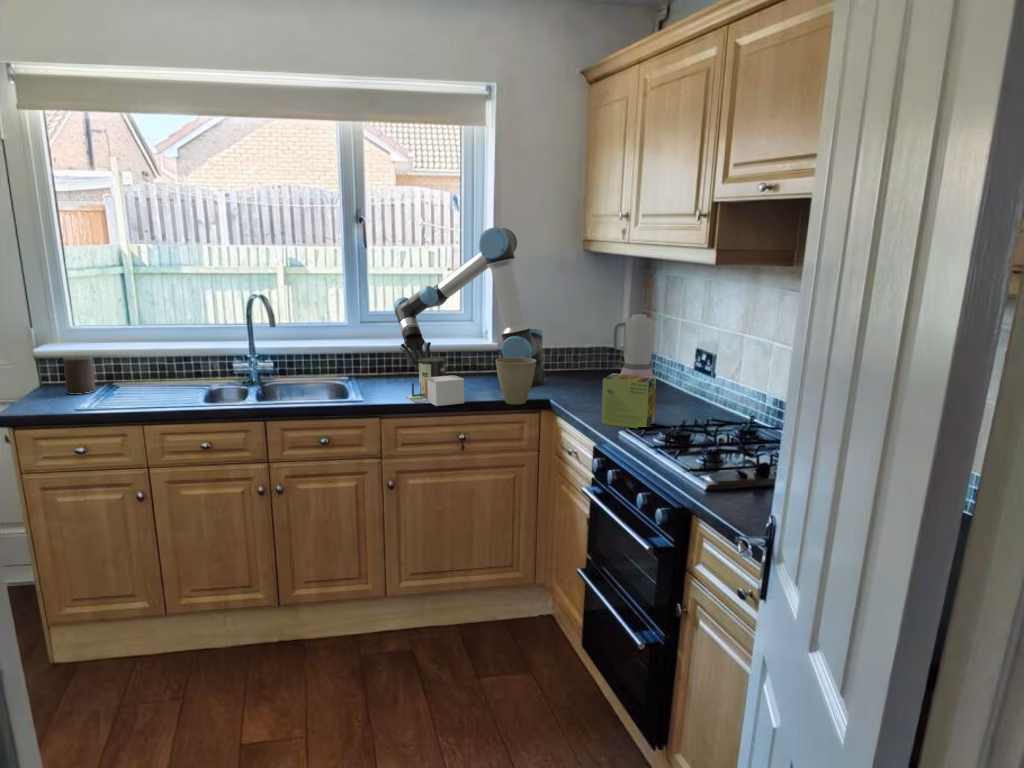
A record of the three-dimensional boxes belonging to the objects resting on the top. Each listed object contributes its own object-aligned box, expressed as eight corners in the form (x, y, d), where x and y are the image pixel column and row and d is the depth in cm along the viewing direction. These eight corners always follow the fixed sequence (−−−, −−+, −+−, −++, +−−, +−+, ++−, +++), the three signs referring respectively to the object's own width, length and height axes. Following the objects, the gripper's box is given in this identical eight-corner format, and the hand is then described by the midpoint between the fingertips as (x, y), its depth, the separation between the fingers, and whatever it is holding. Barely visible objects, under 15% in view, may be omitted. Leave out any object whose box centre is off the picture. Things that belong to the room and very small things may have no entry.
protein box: (647, 429, 221) (649, 382, 218) (600, 424, 227) (602, 377, 224) (654, 422, 230) (657, 376, 227) (610, 417, 237) (611, 372, 234)
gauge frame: (444, 393, 272) (444, 370, 270) (464, 403, 256) (464, 379, 254) (405, 397, 265) (405, 374, 263) (423, 407, 249) (422, 382, 247)
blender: (647, 395, 270) (650, 313, 264) (656, 402, 259) (661, 316, 252) (607, 396, 269) (610, 313, 262) (615, 403, 257) (618, 316, 250)
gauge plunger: (450, 393, 267) (450, 375, 265) (458, 397, 260) (458, 379, 259) (411, 397, 259) (411, 379, 258) (418, 401, 253) (418, 383, 252)
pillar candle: (73, 396, 263) (68, 357, 260) (62, 392, 269) (58, 354, 266) (100, 392, 271) (96, 354, 268) (89, 388, 276) (85, 351, 273)
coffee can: (447, 392, 274) (447, 357, 271) (444, 398, 264) (443, 361, 261) (421, 392, 274) (420, 356, 271) (417, 397, 264) (416, 361, 261)
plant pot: (541, 405, 253) (542, 362, 250) (503, 408, 248) (503, 364, 245) (527, 396, 267) (527, 355, 264) (490, 399, 262) (490, 357, 259)
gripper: (423, 335, 290) (439, 382, 279) (393, 337, 284) (408, 385, 273) (428, 324, 284) (443, 371, 273) (397, 326, 278) (412, 374, 267)
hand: (426, 378), depth 273 cm, fingers closed
